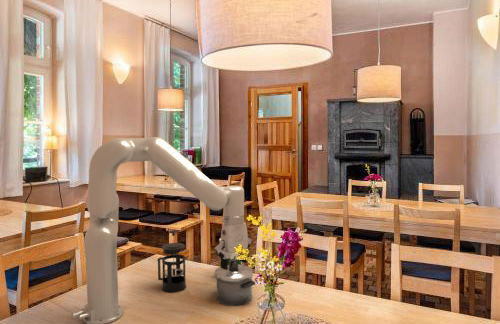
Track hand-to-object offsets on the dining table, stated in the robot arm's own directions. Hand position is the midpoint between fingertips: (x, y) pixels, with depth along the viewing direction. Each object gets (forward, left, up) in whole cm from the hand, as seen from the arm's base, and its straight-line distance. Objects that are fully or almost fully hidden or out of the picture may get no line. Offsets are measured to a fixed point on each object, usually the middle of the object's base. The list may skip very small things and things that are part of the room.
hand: (234, 265), depth 132 cm
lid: (0, 0, -3) cm, 3 cm away
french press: (-11, +24, -12) cm, 29 cm away
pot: (0, 0, -12) cm, 12 cm away
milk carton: (+11, +14, -12) cm, 22 cm away
